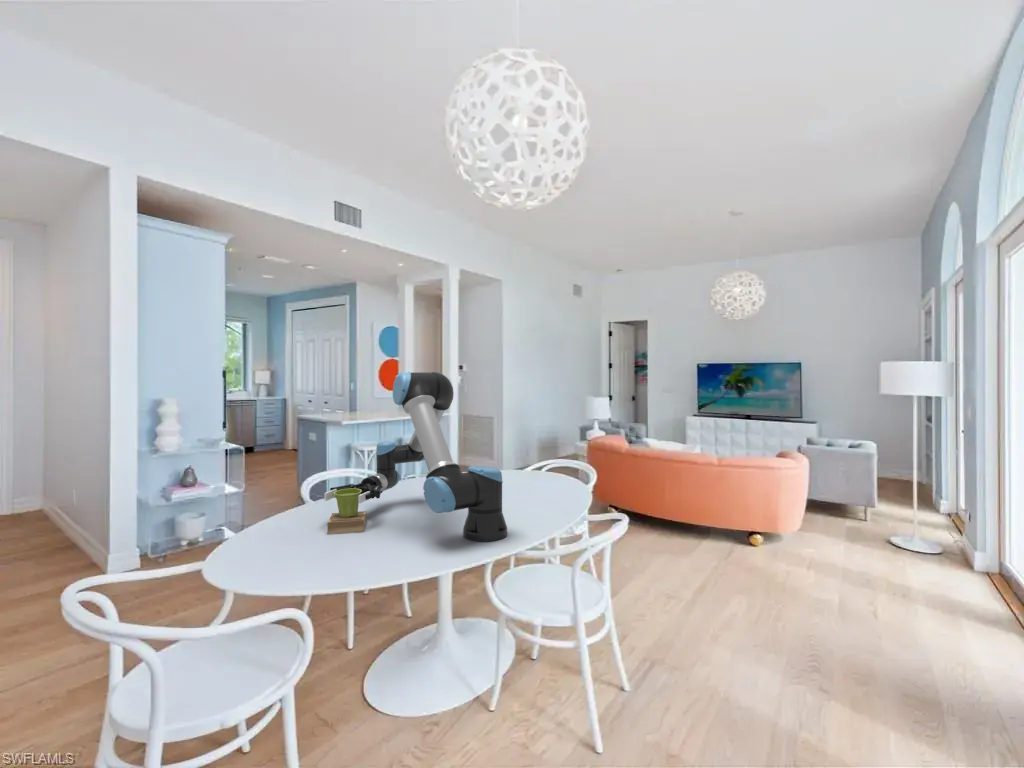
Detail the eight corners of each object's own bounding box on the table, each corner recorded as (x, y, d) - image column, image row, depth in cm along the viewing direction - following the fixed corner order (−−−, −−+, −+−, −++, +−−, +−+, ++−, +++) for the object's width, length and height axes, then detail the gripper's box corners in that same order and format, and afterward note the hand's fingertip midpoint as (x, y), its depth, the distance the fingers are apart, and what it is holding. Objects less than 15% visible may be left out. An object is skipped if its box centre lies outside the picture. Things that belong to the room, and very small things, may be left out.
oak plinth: (363, 531, 175) (363, 519, 175) (327, 534, 173) (327, 521, 173) (366, 521, 187) (366, 510, 187) (332, 524, 185) (332, 512, 184)
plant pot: (353, 520, 175) (353, 495, 174) (329, 518, 177) (328, 494, 176) (366, 512, 184) (366, 488, 184) (343, 511, 186) (342, 487, 185)
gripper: (402, 496, 194) (374, 511, 173) (345, 492, 200) (311, 506, 180) (402, 477, 194) (373, 489, 173) (345, 473, 200) (311, 485, 180)
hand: (342, 498), depth 176 cm, fingers open, 13 cm apart
